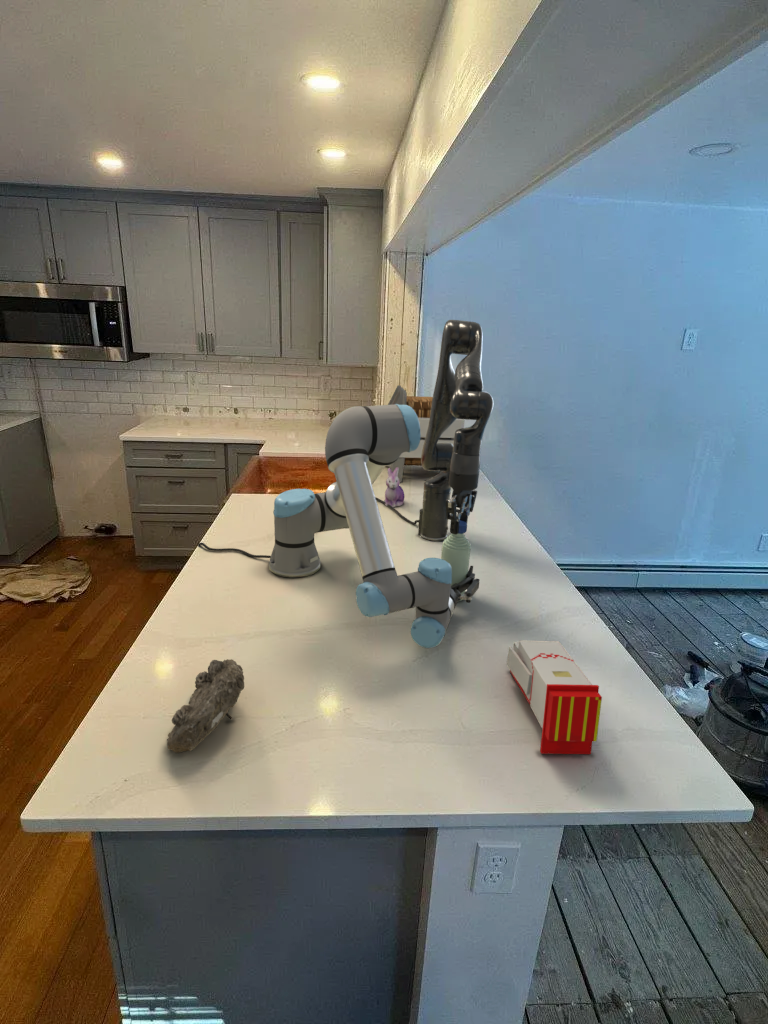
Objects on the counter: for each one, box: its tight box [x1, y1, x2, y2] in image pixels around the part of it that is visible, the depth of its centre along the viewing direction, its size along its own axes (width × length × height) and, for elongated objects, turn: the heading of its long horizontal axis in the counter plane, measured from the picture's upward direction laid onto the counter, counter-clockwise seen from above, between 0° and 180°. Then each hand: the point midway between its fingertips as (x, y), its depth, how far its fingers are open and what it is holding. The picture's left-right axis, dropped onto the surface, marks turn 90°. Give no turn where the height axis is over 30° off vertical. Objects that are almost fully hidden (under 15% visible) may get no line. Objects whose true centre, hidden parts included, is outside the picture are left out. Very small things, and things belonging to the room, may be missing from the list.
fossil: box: [166, 658, 245, 754], centre depth 106 cm, size 22×10×15 cm
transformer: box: [386, 384, 466, 483], centre depth 268 cm, size 34×33×41 cm
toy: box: [506, 640, 603, 755], centre depth 114 cm, size 12×13×30 cm
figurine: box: [383, 467, 405, 508], centre depth 227 cm, size 9×10×15 cm
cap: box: [449, 520, 468, 534], centre depth 152 cm, size 4×4×2 cm
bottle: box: [440, 533, 472, 602], centre depth 155 cm, size 8×8×21 cm
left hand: (456, 567), depth 161 cm, fingers closed on bottle, 8 cm apart
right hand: (458, 530), depth 152 cm, fingers closed on cap, 4 cm apart
